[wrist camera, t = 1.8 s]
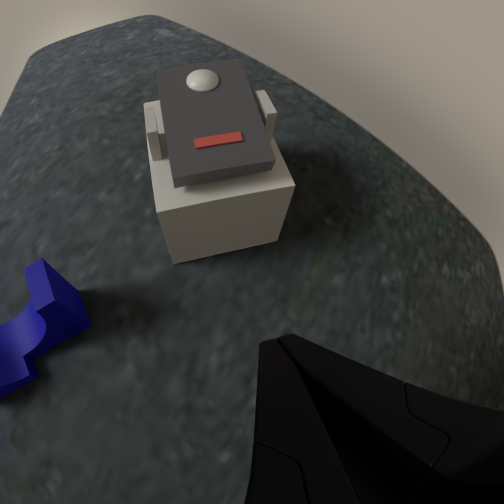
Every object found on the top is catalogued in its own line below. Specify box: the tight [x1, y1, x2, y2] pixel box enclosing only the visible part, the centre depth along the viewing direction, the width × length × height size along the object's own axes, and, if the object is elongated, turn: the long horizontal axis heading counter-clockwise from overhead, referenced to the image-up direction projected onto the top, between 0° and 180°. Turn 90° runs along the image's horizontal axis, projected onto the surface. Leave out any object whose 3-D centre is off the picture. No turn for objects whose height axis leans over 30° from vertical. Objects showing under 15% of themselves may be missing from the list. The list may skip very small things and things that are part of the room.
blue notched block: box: [0, 258, 92, 398], centre depth 16 cm, size 12×4×6 cm, turn 123°
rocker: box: [156, 59, 276, 188], centre depth 18 cm, size 8×6×1 cm, turn 15°
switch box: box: [144, 90, 295, 264], centre depth 22 cm, size 10×8×9 cm
